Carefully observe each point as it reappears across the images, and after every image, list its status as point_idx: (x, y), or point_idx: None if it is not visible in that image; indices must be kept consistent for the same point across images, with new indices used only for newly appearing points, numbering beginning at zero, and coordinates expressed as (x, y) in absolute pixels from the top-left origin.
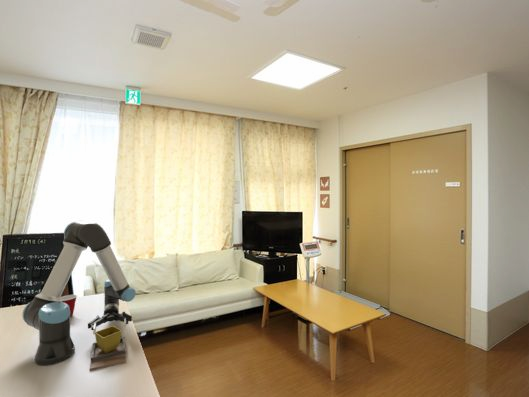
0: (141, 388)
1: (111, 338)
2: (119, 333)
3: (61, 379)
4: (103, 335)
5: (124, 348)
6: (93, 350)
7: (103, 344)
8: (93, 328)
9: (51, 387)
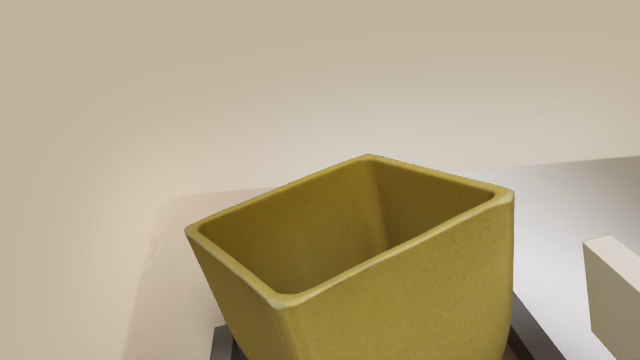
0: (195, 202)
1: (302, 222)
2: (215, 235)
3: (605, 203)
4: (431, 312)
5: (217, 351)
6: (525, 334)
7: (380, 226)
8: (614, 239)
9: (612, 173)
